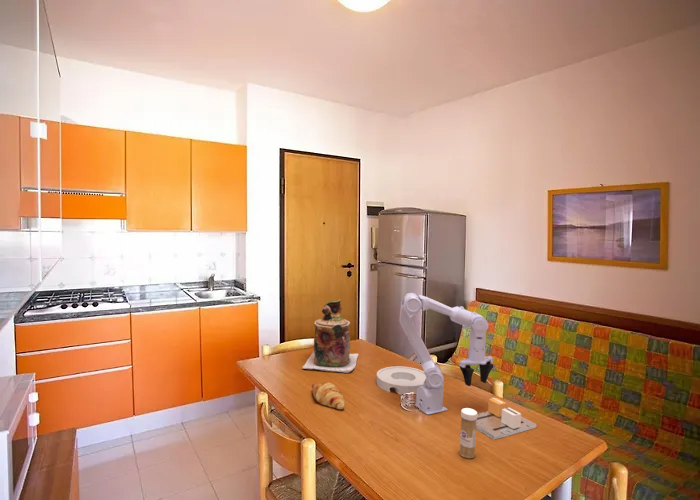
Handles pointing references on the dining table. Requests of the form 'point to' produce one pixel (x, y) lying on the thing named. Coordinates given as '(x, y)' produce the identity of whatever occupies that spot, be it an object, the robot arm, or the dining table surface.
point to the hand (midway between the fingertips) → (475, 383)
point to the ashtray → (400, 379)
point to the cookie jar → (332, 342)
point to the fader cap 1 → (496, 406)
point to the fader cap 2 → (511, 418)
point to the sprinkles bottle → (468, 432)
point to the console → (499, 425)
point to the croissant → (328, 395)
